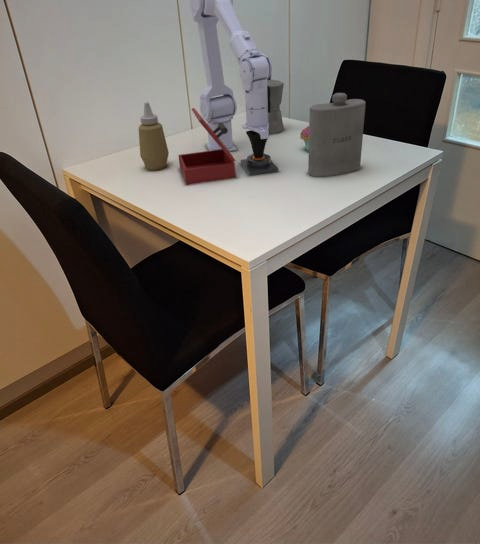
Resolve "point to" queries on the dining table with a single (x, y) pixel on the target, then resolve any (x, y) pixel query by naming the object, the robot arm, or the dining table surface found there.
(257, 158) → the power button
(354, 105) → the flask
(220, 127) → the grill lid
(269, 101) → the coffeepot
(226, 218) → the dining table surface
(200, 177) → the maroon rectangular box
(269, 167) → the switch box
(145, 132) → the squeeze bottle
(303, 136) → the cupcake
